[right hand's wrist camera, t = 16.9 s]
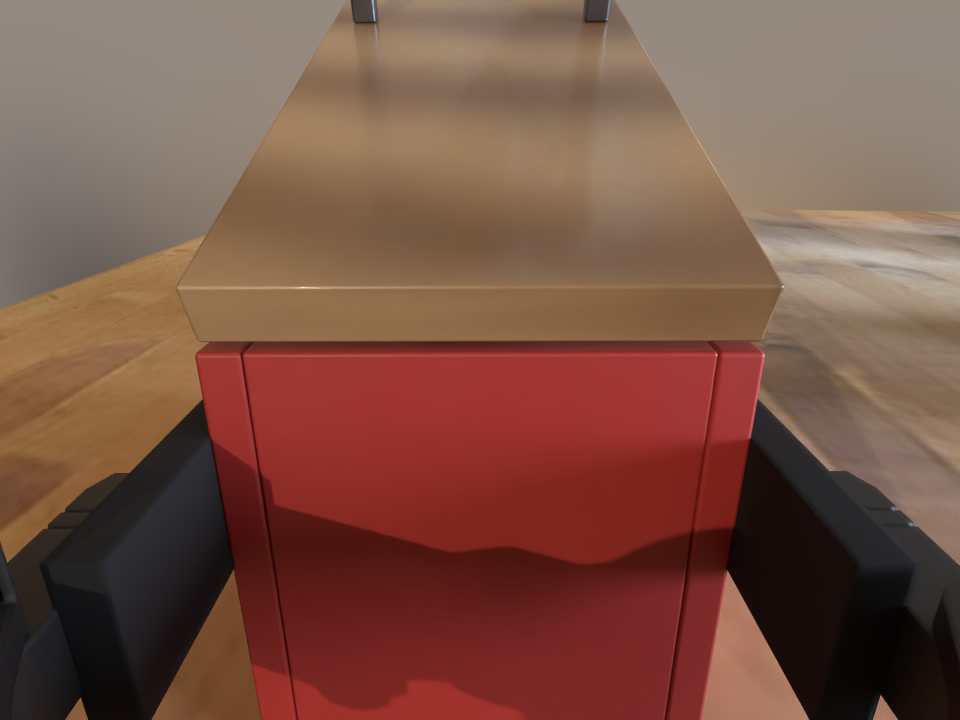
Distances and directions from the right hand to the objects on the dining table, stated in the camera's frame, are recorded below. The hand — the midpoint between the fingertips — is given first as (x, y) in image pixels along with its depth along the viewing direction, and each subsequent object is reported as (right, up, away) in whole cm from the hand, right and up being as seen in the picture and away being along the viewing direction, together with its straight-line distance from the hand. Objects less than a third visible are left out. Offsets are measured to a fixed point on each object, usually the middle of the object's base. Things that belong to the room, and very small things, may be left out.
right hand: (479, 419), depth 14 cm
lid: (0, +7, +2) cm, 7 cm away
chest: (0, -5, +6) cm, 8 cm away
